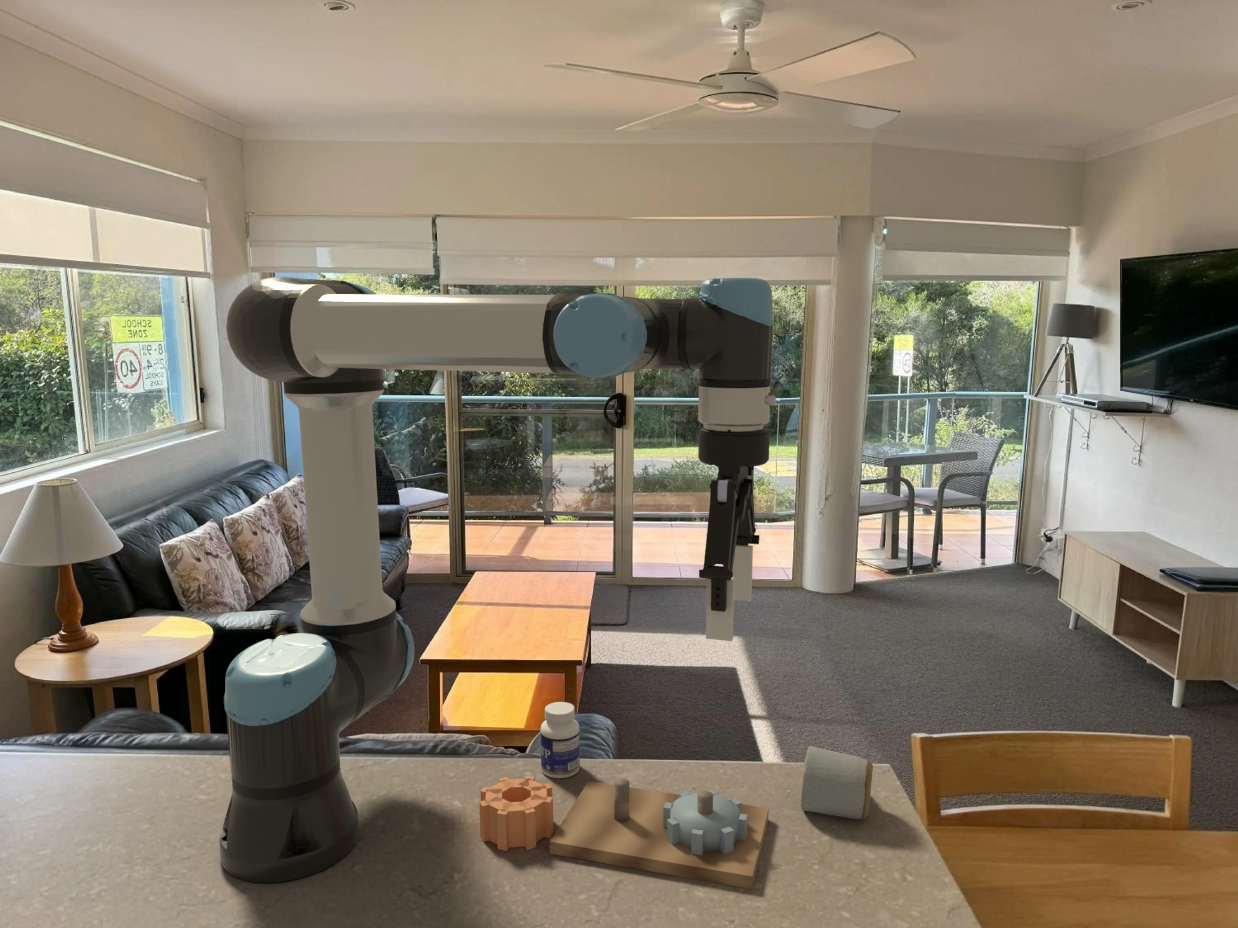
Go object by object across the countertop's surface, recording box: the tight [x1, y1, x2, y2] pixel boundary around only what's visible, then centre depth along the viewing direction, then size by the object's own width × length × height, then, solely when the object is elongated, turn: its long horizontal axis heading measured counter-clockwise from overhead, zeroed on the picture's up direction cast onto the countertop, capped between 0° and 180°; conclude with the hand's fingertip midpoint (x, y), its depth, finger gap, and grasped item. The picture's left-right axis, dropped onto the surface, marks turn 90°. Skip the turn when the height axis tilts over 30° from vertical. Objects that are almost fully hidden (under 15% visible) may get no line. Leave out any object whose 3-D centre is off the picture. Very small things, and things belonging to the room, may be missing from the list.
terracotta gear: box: [479, 775, 554, 852], centre depth 105 cm, size 9×9×4 cm
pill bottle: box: [539, 701, 581, 779], centre depth 119 cm, size 5×5×9 cm
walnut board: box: [549, 778, 770, 890], centre depth 104 cm, size 23×14×6 cm, turn 74°
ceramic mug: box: [800, 745, 874, 820], centre depth 110 cm, size 11×8×8 cm
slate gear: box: [663, 789, 747, 855], centre depth 102 cm, size 10×10×2 cm
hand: (730, 618), depth 97 cm, fingers open, 13 cm apart
